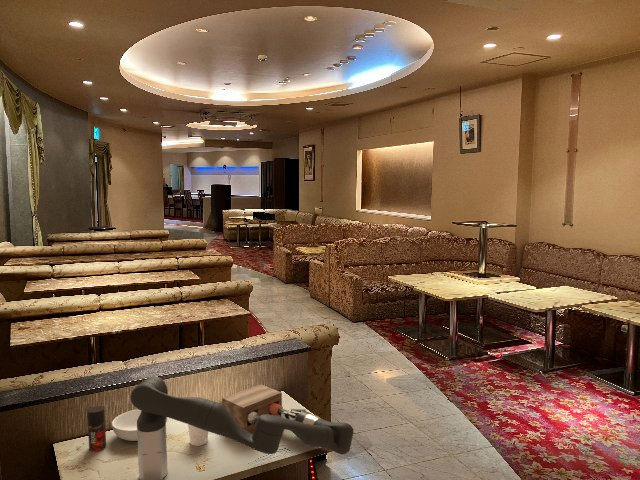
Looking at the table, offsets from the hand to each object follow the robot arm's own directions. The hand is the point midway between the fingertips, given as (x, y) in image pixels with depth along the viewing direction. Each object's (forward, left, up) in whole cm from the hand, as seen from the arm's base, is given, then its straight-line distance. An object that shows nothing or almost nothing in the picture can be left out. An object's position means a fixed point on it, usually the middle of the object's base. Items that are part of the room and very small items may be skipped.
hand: (279, 410), depth 199 cm
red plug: (+4, +2, -2) cm, 5 cm away
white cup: (-1, +32, -8) cm, 33 cm away
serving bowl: (+12, +54, -8) cm, 56 cm away
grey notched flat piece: (+16, +24, -8) cm, 30 cm away
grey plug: (+1, +13, -2) cm, 13 cm away
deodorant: (+6, +69, -8) cm, 70 cm away
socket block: (+6, +10, -7) cm, 14 cm away
